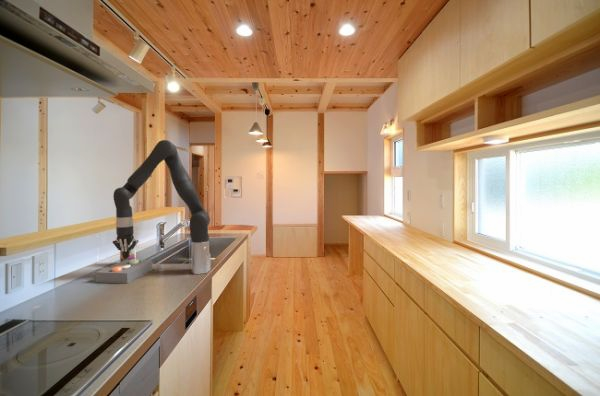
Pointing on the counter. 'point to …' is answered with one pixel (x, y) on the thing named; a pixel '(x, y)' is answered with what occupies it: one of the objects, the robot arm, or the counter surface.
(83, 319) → the counter surface
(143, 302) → the counter surface
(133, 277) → the button console
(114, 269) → the terracotta button
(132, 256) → the milk bottle
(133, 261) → the sage button
